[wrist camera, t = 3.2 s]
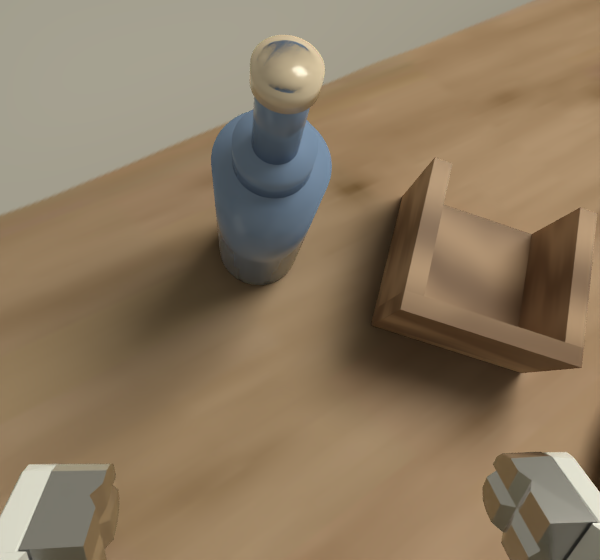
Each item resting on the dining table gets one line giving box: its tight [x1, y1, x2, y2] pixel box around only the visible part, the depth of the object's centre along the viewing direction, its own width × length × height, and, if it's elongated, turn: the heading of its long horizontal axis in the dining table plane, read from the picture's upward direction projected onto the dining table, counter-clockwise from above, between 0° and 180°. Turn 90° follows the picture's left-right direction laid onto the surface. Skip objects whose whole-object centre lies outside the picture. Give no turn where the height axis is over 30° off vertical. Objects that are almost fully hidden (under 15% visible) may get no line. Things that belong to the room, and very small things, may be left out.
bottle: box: [211, 35, 332, 285], centre depth 23 cm, size 5×5×18 cm
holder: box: [371, 157, 597, 373], centre depth 30 cm, size 10×11×6 cm
